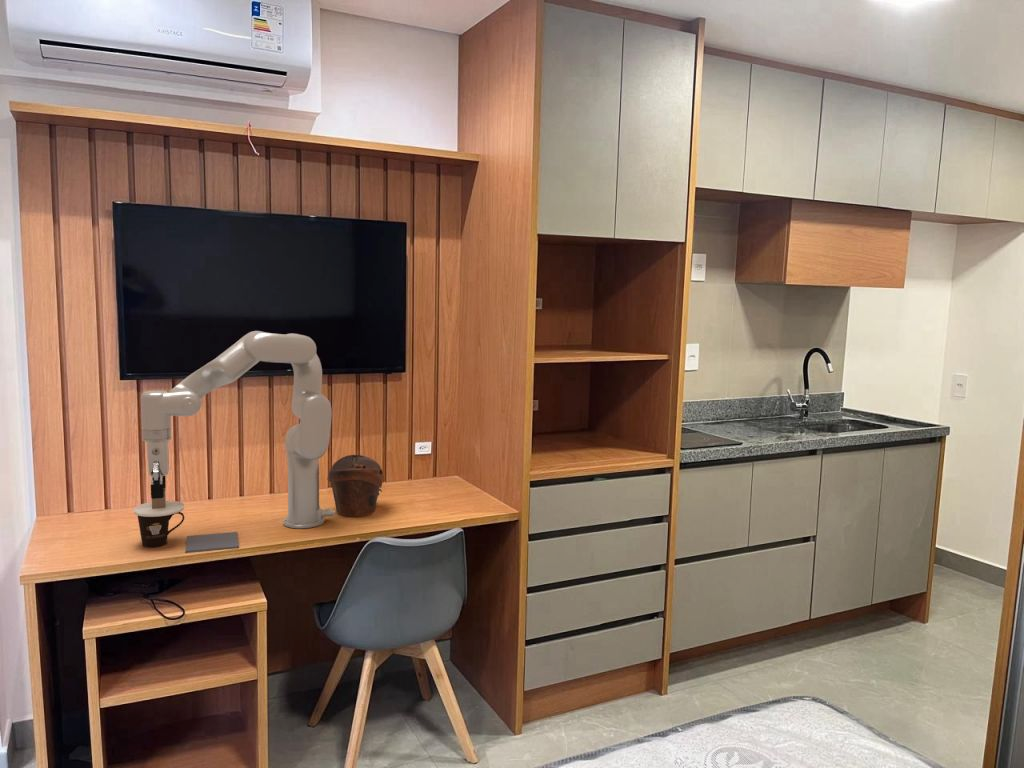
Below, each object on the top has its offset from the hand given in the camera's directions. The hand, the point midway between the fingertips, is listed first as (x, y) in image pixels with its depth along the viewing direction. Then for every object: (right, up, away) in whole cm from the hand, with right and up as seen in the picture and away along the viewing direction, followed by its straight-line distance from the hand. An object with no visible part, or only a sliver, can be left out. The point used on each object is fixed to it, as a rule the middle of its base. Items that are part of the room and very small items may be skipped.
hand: (158, 493), depth 220 cm
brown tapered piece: (+49, -12, +39) cm, 63 cm away
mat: (+14, -15, +4) cm, 21 cm away
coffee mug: (0, -15, +2) cm, 15 cm away
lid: (0, -5, +1) cm, 5 cm away
